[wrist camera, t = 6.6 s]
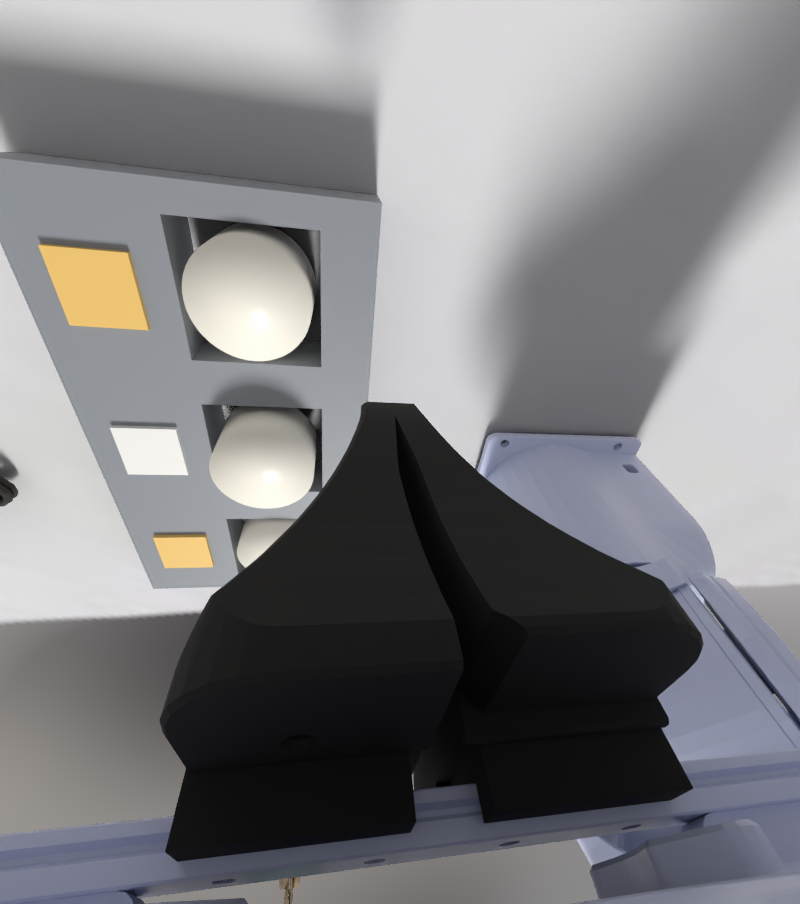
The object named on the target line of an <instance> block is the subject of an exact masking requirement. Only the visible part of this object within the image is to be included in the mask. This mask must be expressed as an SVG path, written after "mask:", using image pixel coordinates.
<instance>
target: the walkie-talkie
mask: <svg viewBox="0 0 800 904" xmlns="http://www.w3.org/2000/svg"><path fill="white" fill-rule="evenodd" d="M17 495H18V490H17V488H16V487H15V485H14V484H12V483H11V482H9V481H8V480H6V479H5V478H3V477H1V476H0V506H5V505H6V504H8V503H10V502H12V500H13V498H15V497H16V496H17Z"/></svg>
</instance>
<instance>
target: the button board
mask: <svg viewBox="0 0 800 904" xmlns="http://www.w3.org/2000/svg"><path fill="white" fill-rule="evenodd" d="M381 207H382V203H381V201H380V199H379V198H378V196H377V195H372V194H364V193H355V192H347V191H339V190H330V189H322V188H314V187H305V186H297V185H289V184H280V183H272V182H264V181H255V180H247V179H239V178H230V177H222V176H214V175H205V174H197V173H189V172H180V171H172V170H164V169H155V168H147V167H139V166H130V165H122V164H114V163H105V162H97V161H89V160H80V159H72V158H64V157H55V156H47V155H39V154H30V153H22V152H2V153H0V243H1V245H2V248H3V250H4V252H5V254H6V257H7V259H8V261H9V263H10V266H11V268H12V270H13V272H14V275H15V277H16V279H17V281H18V284H19V286H20V288H21V290H22V293H23V295H24V297H25V300H26V302H27V304H28V306H29V309H30V311H31V313H32V315H33V318H34V320H35V322H36V324H37V327H38V329H39V331H40V333H41V336H42V338H43V340H44V342H45V345H46V347H47V349H48V352H49V354H50V356H51V358H52V361H53V363H54V365H55V367H56V370H57V372H58V374H59V376H60V379H61V381H62V383H63V385H64V388H65V390H66V392H67V394H68V397H69V399H70V401H71V404H72V406H73V408H74V410H75V413H76V415H77V417H78V419H79V422H80V424H81V426H82V428H83V431H84V433H85V435H86V437H87V440H88V442H89V444H90V446H91V449H92V451H93V453H94V456H95V458H96V460H97V462H98V465H99V467H100V469H101V471H102V474H103V476H104V478H105V480H106V483H107V485H108V487H109V489H110V492H111V494H112V496H113V498H114V501H115V503H116V505H117V508H118V510H119V512H120V514H121V517H122V519H123V521H124V523H125V526H126V528H127V530H128V532H129V535H130V537H131V539H132V541H133V544H134V546H135V548H136V550H137V553H138V555H139V557H140V560H141V562H142V564H143V566H144V569H145V571H146V573H147V575H148V578H149V580H150V582H151V584H152V587H153V589H158V588H195V587H223V586H224V585H225V584H226V583H228V582H229V581H230V580H231V579H233V578H234V577H235V576H236V575H237V574H239V573H240V572H241V571H242V570H244V569H245V567H244V566H243V565H242V564H241V563H240V561H239V559H238V557H237V547H238V543H239V540H240V536H241V532H242V528H243V520H242V519H298V518H299V517H300V515H301V514H302V513H303V512H304V511H305V510H306V508H307V507H308V506H309V505H310V504H311V502H312V501H313V500H314V499H315V498H316V496H317V495H318V494H319V492H320V491H321V490H322V488H323V487H324V486H325V484H326V483H327V481H328V480H329V479H330V477H331V476H332V474H333V472H334V471H335V469H336V468H337V466H338V464H339V463H340V461H341V459H342V457H343V456H344V454H345V452H346V450H347V448H348V446H349V444H350V442H351V440H352V438H353V435H354V433H355V431H356V428H357V425H358V422H359V419H360V415H361V405H363V404H364V403H365V402H368V390H369V376H370V362H371V348H372V334H373V320H374V306H375V292H376V277H377V263H378V249H379V235H380V221H381ZM187 217H193V218H203V219H212V220H222V221H231V222H241V223H251V224H260V225H270V226H279V227H289V228H299V229H308V230H318V231H320V264H321V343H312V342H301V343H300V344H299V345H298V346H297V347H296V348H295V349H294V350H293V351H291V352H290V353H288V354H287V355H285V356H283V357H280V358H278V359H274V360H269V361H249V360H244V359H240V358H237V357H234V356H231V355H229V354H227V353H225V352H223V351H221V350H220V349H218V348H217V347H215V346H214V345H213V344H211V343H210V342H209V341H208V340H207V339H206V338H205V337H204V336H203V335H202V334H201V333H200V332H199V331H198V330H197V328H196V327H195V325H194V324H193V322H192V321H191V319H190V317H189V315H188V313H187V310H186V308H185V304H184V301H183V295H182V277H183V272H184V269H185V266H186V264H187V262H188V260H189V258H190V257H191V255H192V254H193V253H194V252H193V246H192V241H191V236H190V230H189V225H188V219H187ZM222 405H231V406H257V407H284V408H310V409H322V461H315V468H314V479H313V483H312V485H311V488H310V489H309V491H308V492H307V493H306V494H305V496H303V497H302V498H301V499H300V500H298V501H296V502H295V503H292V504H290V505H287V506H284V507H280V508H271V509H264V508H254V507H250V506H246V505H243V504H241V503H238V502H236V501H234V500H232V499H230V498H229V497H227V496H226V495H225V494H224V493H222V492H221V491H220V490H219V489H218V487H217V486H216V485H215V483H214V482H213V480H212V478H211V475H210V470H209V462H210V457H211V455H212V453H213V450H214V448H215V446H216V443H217V441H218V439H219V436H220V434H221V432H222V429H223V427H224V425H225V421H224V416H223V411H222Z"/></svg>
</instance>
